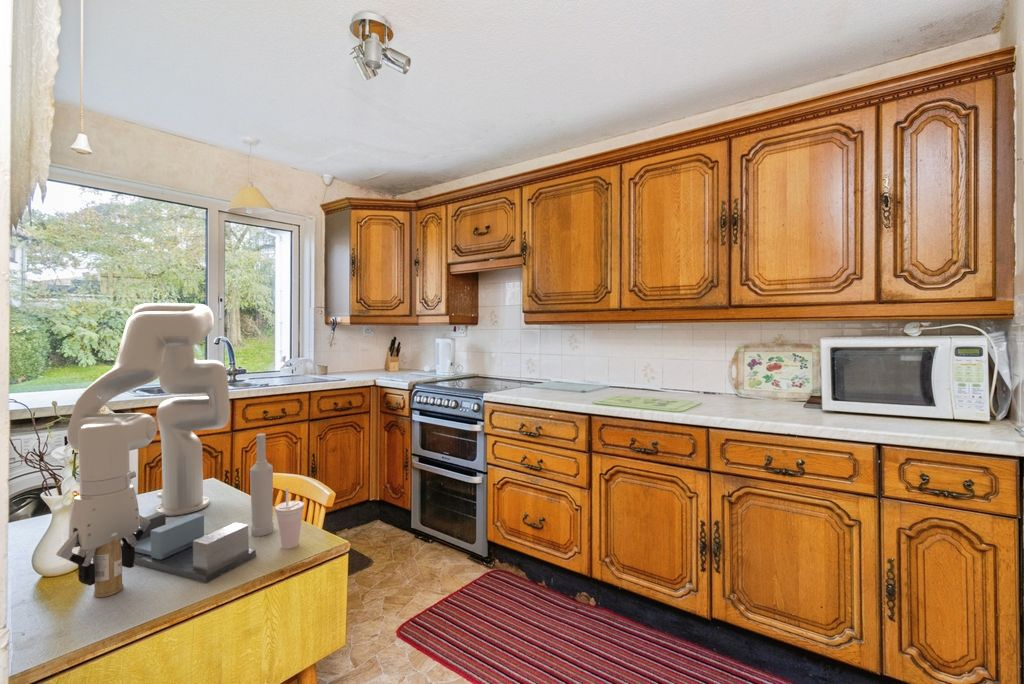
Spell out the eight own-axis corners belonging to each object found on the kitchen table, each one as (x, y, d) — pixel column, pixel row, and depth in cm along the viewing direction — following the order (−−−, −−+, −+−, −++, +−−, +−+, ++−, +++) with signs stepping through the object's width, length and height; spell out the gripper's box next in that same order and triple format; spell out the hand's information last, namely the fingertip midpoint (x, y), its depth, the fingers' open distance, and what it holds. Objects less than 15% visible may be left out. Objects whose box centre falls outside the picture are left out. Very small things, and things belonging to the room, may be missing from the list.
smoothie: (270, 545, 114) (270, 487, 114) (297, 536, 119) (297, 481, 119) (281, 554, 110) (281, 494, 109) (309, 545, 115) (308, 487, 114)
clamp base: (110, 557, 108) (109, 524, 108) (164, 535, 119) (164, 505, 119) (206, 583, 98) (205, 547, 97) (255, 556, 109) (255, 523, 109)
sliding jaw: (118, 548, 109) (117, 522, 108) (163, 530, 118) (162, 506, 118) (160, 559, 104) (160, 532, 104) (204, 540, 113) (203, 515, 113)
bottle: (251, 529, 123) (250, 433, 122) (274, 526, 125) (273, 431, 124) (249, 538, 118) (248, 437, 117) (273, 534, 120) (271, 435, 119)
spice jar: (128, 588, 96) (126, 522, 95) (101, 600, 91) (99, 531, 91) (115, 583, 98) (113, 518, 97) (88, 594, 93) (85, 527, 93)
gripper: (139, 469, 103) (142, 551, 104) (37, 497, 87) (41, 594, 88) (164, 473, 100) (166, 557, 101) (63, 502, 84) (66, 602, 85)
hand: (108, 573), depth 94 cm, fingers open, 6 cm apart
